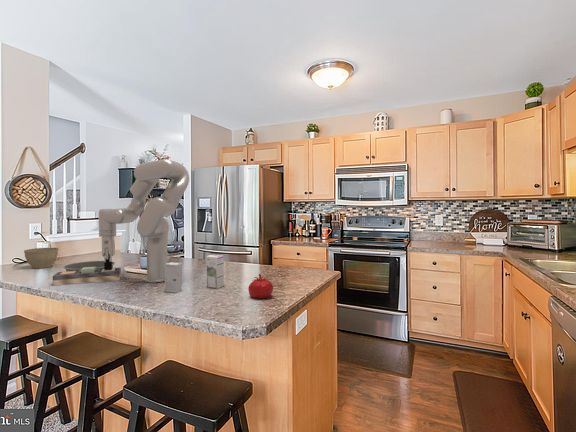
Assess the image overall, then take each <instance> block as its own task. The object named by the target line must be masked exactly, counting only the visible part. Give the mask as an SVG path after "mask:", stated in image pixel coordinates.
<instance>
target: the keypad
mask: <svg viewBox="0 0 576 432" xmlns="http://www.w3.org/2000/svg"><path fill="white" fill-rule="evenodd" d="M114 268H115V270H116V271H108V272H101V271H102V270H103V269H96V271H95V272H94V273H81V270H79V271H76V274H67V275H60V274H61V273H62V272H63V271H58V272H56V273H55V274H54V275H52V287H53V286H54V287H55V286H56V287H57V286H67V284H68V285H76V284H78V285H79V284H89V283H90V284H92V283H104V282H112V281H113V282H114V281H116V282H117V281H120V278H122V272H121V271H122V268H121V267H114ZM64 272H70V271H66V270H65V271H64Z"/></svg>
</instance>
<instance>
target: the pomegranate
mask: <svg viewBox="0 0 576 432" xmlns="http://www.w3.org/2000/svg"><path fill="white" fill-rule="evenodd" d="M253 278H254V279H252V281H251V283H249V285H248V287H247V288H248V294H249V296H250V297H251V298H252V299H253V298H254V299H261V298H263V299H267V298H269V297H270V296H271V295H272V293H273V291H274V285H273V283H272V282H271V281H270V280H268V277H264V276H262V274H261V273H259V274H258V277H257V276H255V277H253Z"/></svg>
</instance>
